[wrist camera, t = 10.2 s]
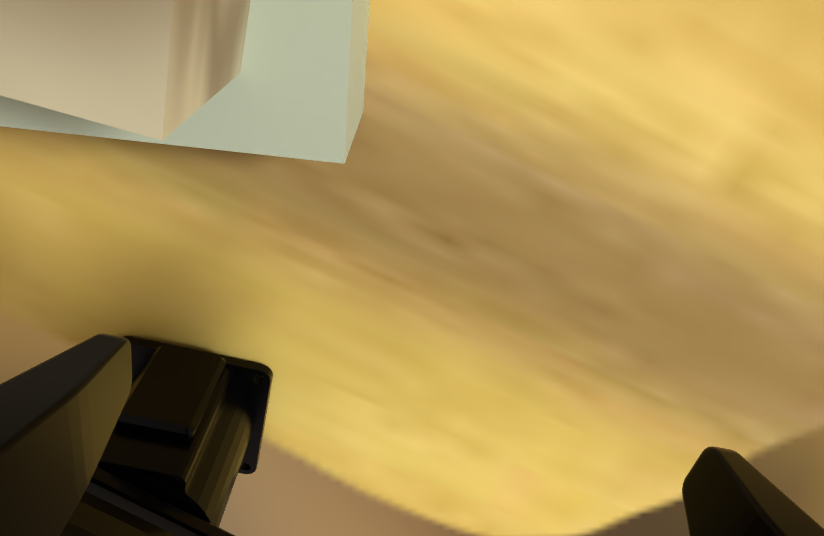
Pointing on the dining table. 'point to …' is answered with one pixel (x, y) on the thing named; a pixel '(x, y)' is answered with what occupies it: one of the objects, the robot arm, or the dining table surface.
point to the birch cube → (121, 57)
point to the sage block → (264, 88)
